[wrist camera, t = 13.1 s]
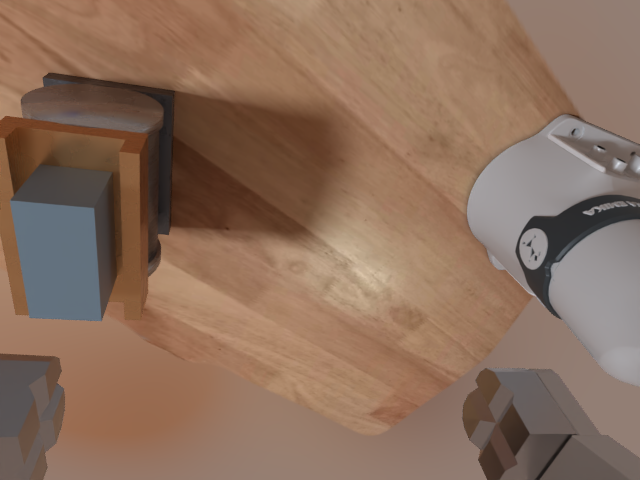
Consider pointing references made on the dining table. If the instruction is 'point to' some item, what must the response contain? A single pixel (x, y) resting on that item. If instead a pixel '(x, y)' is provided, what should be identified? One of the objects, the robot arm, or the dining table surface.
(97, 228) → the blue-grey rectangular block
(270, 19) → the dining table surface
